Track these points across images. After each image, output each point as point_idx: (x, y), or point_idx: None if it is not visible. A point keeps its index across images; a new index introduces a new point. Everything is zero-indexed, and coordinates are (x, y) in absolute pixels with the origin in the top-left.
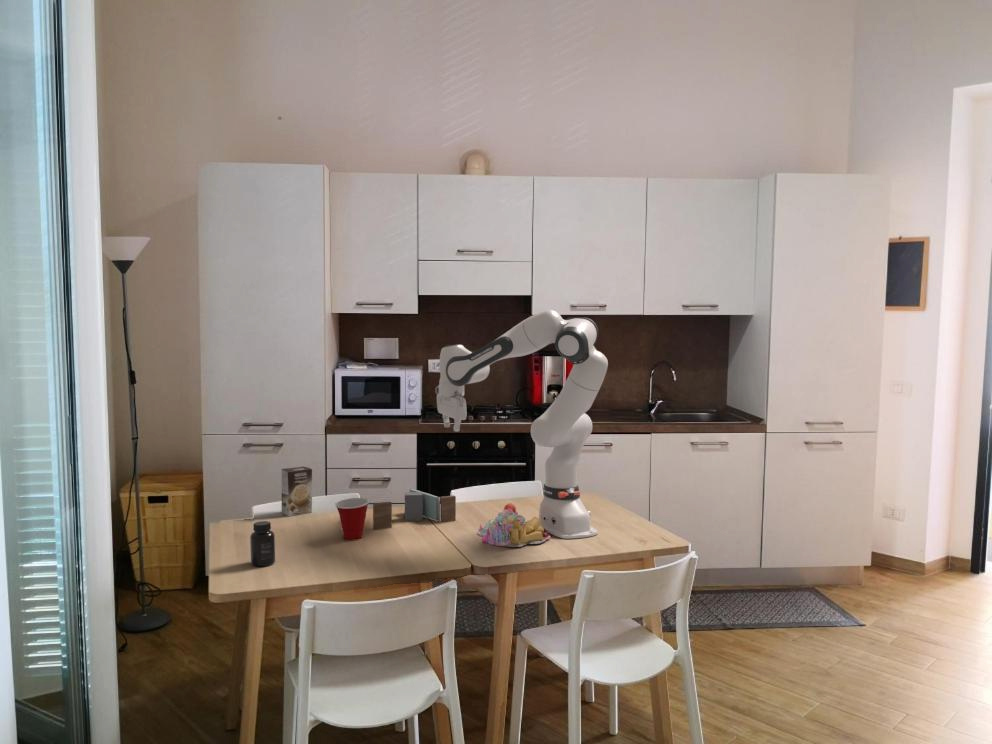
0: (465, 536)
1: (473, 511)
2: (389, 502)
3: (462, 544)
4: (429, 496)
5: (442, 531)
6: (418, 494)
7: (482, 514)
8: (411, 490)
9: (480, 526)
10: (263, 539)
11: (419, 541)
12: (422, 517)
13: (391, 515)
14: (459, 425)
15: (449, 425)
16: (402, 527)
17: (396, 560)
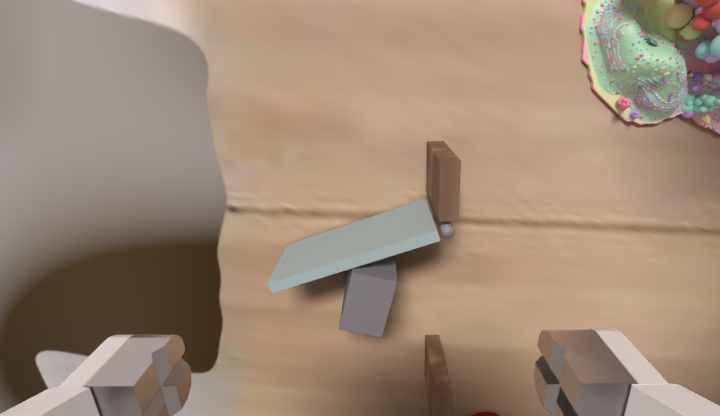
0: (631, 169)
1: (344, 29)
2: (446, 397)
3: (701, 205)
4: (397, 251)
5: (541, 219)
6: (385, 293)
7: (399, 8)
8: (283, 287)
9: (628, 106)
10: None
11: (600, 304)
12: None
13: (444, 361)
14: (703, 410)
15: (165, 354)
16: (447, 309)
17: (714, 388)
